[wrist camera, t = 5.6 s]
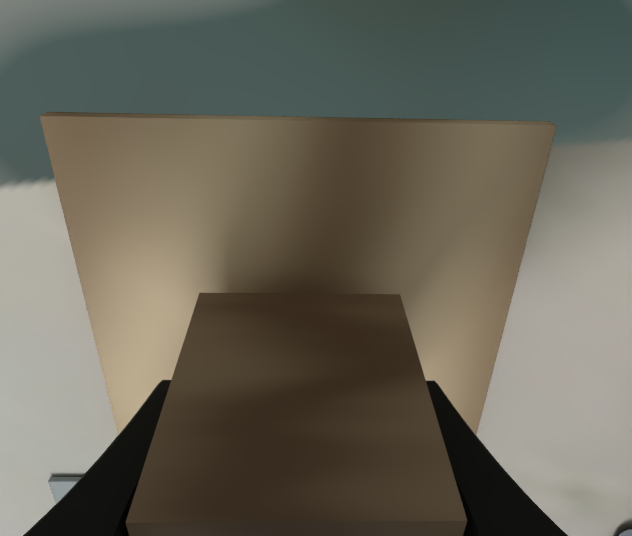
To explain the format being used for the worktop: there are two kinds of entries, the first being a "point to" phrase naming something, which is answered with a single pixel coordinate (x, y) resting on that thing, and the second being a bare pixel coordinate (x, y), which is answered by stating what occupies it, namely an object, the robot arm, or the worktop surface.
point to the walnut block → (297, 425)
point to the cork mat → (296, 228)
